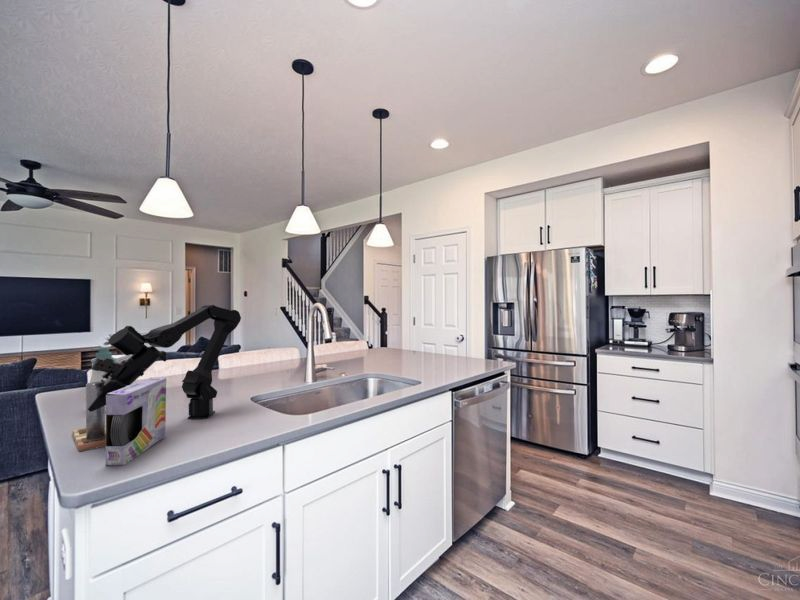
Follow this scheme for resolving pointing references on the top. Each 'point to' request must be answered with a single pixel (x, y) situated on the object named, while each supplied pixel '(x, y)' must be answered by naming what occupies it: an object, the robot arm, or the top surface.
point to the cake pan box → (134, 419)
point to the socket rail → (81, 438)
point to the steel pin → (94, 412)
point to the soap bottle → (97, 375)
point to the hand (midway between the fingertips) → (89, 408)
